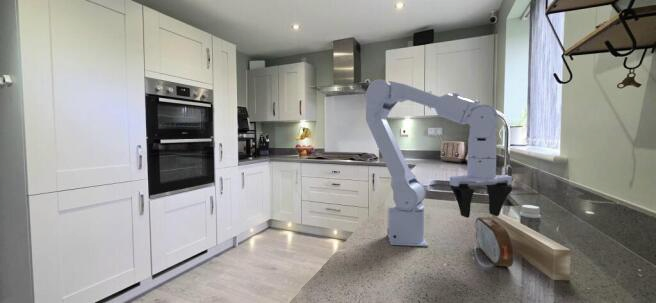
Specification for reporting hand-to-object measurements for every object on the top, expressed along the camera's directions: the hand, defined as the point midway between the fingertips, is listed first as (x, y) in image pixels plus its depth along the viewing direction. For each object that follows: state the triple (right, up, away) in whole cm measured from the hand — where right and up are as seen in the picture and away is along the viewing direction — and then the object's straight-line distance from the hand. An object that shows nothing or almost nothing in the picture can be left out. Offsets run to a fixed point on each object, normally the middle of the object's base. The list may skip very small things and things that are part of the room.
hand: (479, 215), depth 62 cm
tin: (+2, -10, 0) cm, 10 cm away
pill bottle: (+21, -9, +12) cm, 26 cm away
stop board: (+11, -9, +2) cm, 15 cm away
